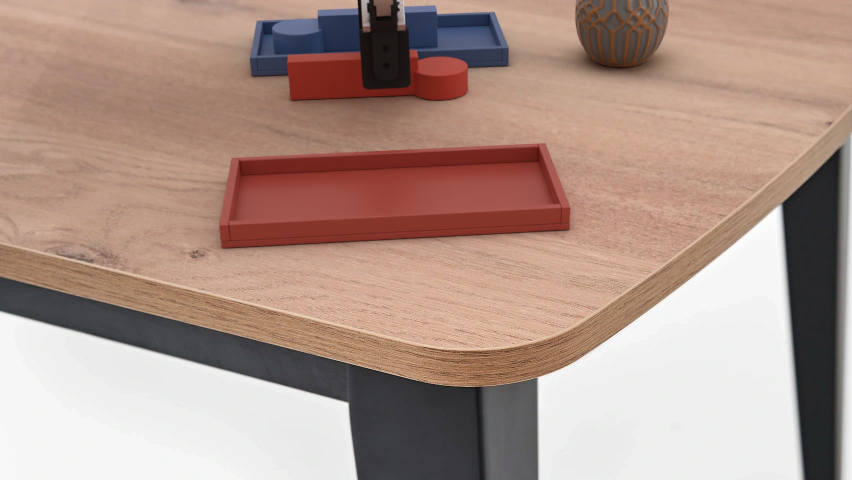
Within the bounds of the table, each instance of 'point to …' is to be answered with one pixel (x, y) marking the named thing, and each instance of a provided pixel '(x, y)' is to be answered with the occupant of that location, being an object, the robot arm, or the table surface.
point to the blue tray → (457, 38)
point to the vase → (621, 29)
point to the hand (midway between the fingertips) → (384, 62)
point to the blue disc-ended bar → (347, 31)
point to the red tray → (391, 195)
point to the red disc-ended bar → (344, 77)
